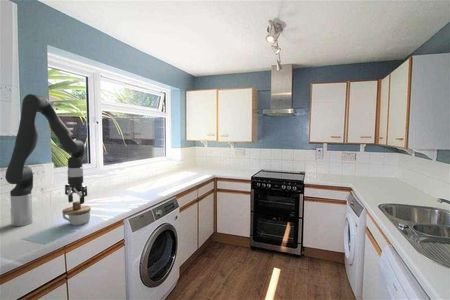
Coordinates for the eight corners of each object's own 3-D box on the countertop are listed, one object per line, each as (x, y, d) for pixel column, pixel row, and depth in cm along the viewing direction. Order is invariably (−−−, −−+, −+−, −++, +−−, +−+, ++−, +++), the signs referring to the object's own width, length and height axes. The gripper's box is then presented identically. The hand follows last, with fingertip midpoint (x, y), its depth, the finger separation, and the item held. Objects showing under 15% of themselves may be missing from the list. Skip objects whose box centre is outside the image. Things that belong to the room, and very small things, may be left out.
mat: (21, 240, 115) (21, 239, 115) (54, 228, 130) (54, 226, 130) (44, 246, 110) (44, 244, 110) (75, 232, 125) (75, 230, 125)
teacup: (94, 220, 143) (93, 207, 142) (83, 228, 132) (83, 214, 131) (70, 220, 142) (70, 207, 142) (58, 228, 132) (58, 213, 131)
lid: (56, 213, 132) (55, 204, 132) (78, 206, 146) (78, 198, 145) (74, 216, 128) (74, 207, 127) (96, 208, 141) (96, 200, 141)
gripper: (60, 175, 134) (61, 203, 135) (79, 177, 129) (79, 206, 130) (72, 173, 141) (73, 200, 142) (90, 175, 136) (91, 202, 138)
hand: (76, 202), depth 136 cm, fingers open, 8 cm apart
